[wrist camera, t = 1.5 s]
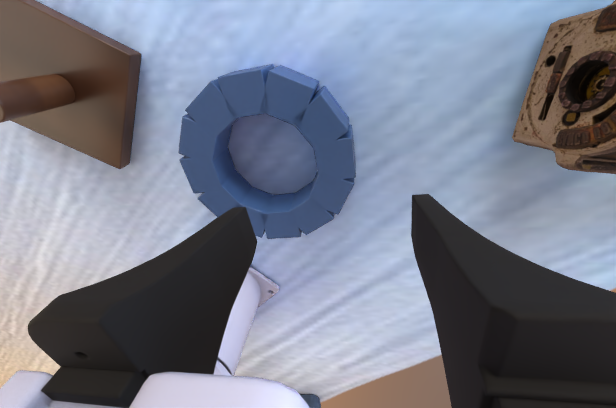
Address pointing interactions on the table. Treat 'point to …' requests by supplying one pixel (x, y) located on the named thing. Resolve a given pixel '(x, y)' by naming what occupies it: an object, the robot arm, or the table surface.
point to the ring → (285, 106)
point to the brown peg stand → (67, 81)
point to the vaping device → (311, 400)
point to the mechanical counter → (575, 93)
